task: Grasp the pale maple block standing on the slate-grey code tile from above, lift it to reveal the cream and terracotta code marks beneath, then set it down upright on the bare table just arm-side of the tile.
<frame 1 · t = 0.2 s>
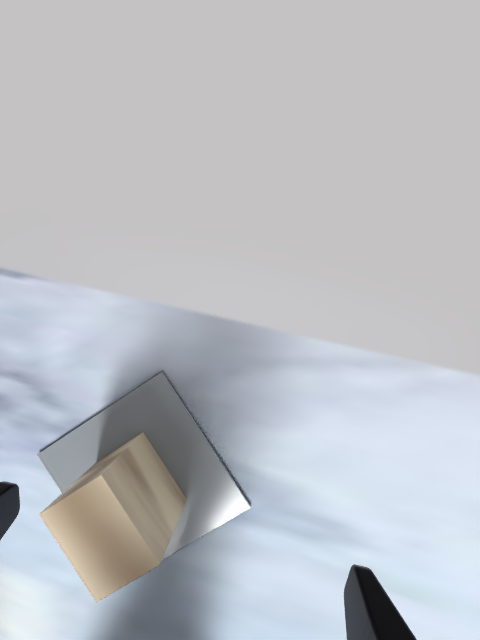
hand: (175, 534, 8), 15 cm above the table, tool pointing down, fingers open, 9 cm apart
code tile: (142, 478, 24), on the table
maple block: (141, 480, 24), resting on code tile
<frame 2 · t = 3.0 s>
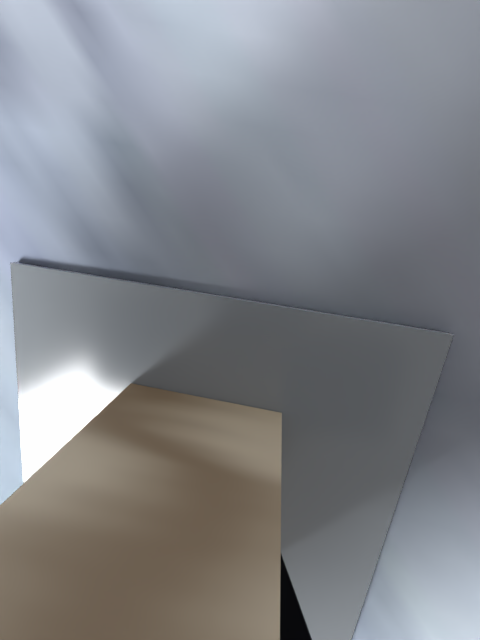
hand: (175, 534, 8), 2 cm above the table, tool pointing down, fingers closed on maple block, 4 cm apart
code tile: (196, 477, 10), on the table
maple block: (194, 482, 10), resting on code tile, touching gripper
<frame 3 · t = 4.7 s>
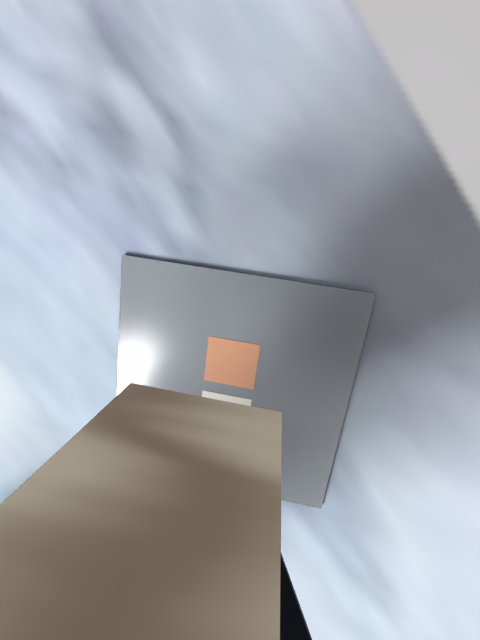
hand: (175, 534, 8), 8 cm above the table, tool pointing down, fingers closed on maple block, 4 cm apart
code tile: (228, 387, 16), on the table
maple block: (194, 481, 10), point 7 cm above the table, touching gripper
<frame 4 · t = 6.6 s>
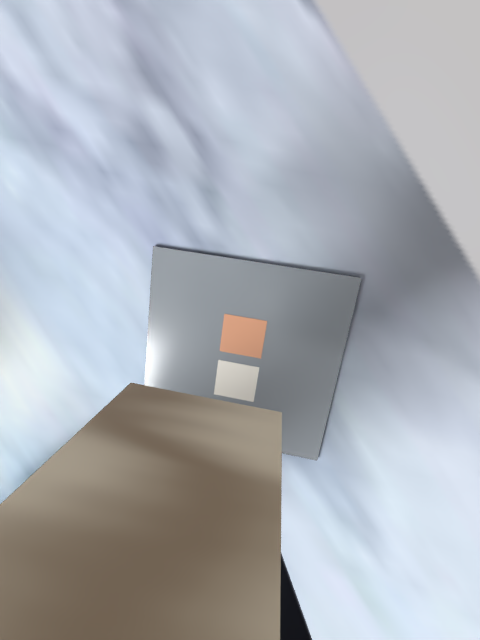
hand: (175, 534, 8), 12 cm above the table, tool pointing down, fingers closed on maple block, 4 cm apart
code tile: (239, 357, 19), on the table
maple block: (194, 482, 10), point 10 cm above the table, touching gripper
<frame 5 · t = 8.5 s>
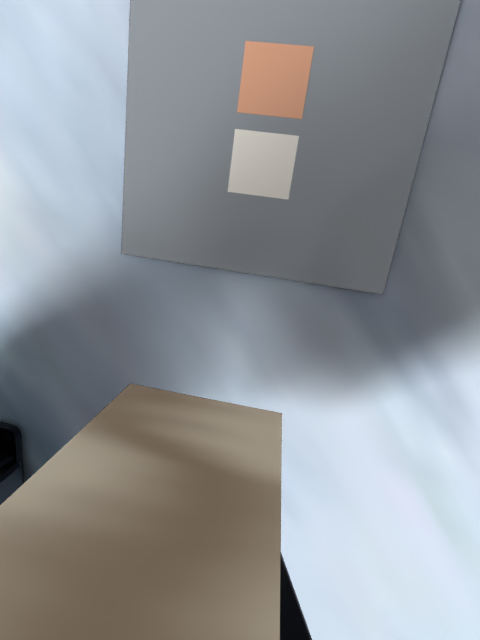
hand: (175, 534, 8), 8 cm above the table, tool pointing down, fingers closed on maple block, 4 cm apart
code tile: (268, 125, 13), on the table
maple block: (194, 483, 10), point 6 cm above the table, touching gripper
when the fingers open (3 cm above the table, at t = 10.3 s): maple block drops 2 cm, on the table.
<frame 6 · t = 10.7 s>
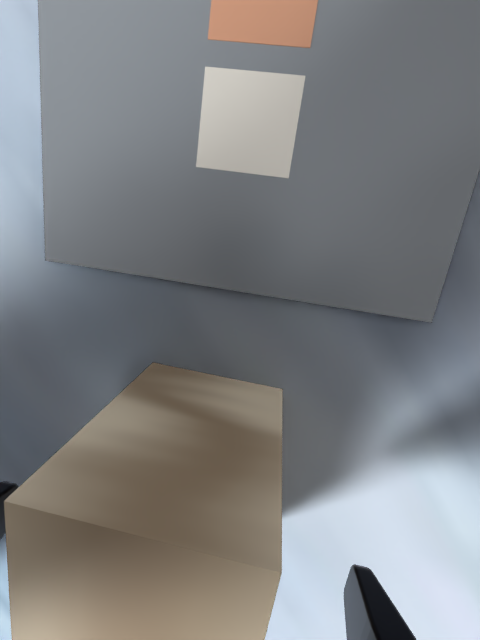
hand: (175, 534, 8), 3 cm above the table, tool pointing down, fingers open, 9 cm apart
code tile: (257, 62, 8), on the table
maple block: (205, 449, 11), on the table
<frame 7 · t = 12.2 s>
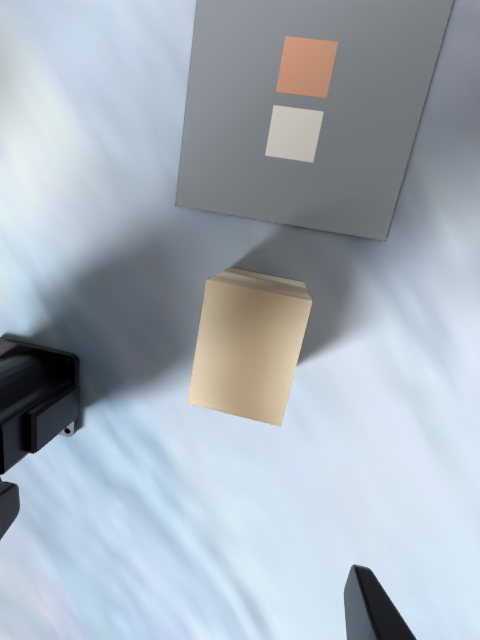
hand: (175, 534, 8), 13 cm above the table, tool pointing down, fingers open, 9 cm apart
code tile: (299, 103, 16), on the table
maple block: (257, 321, 19), on the table
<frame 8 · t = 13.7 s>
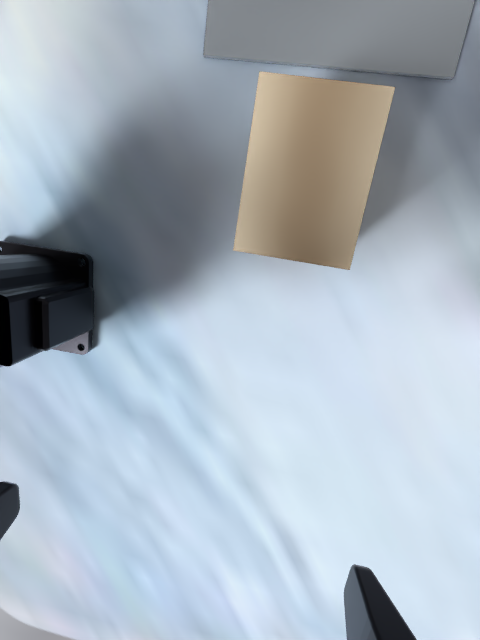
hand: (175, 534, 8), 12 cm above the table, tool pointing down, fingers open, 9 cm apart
maple block: (298, 197, 17), on the table
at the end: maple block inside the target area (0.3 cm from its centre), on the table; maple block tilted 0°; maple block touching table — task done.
